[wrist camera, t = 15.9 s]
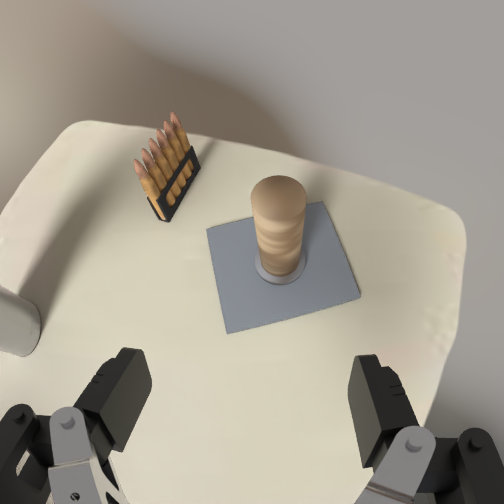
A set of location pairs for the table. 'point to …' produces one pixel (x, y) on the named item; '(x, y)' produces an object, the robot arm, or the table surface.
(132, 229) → the table surface
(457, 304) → the table surface
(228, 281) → the slate mat
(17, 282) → the table surface
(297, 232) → the tan ribbed cylinder
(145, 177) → the ammunition clip
